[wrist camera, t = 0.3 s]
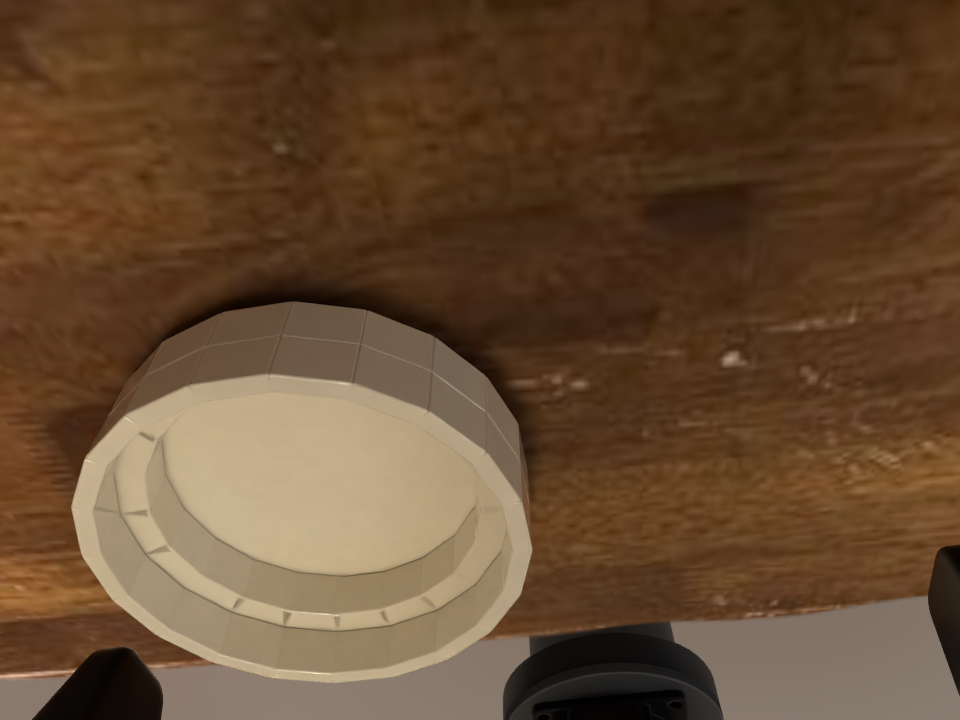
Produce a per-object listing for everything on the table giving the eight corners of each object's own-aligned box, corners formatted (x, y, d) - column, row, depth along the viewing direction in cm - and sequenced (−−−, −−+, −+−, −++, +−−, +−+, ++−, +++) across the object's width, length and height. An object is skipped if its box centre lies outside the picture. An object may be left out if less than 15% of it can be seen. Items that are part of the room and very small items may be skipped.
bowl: (548, 566, 31) (555, 661, 28) (209, 605, 33) (180, 700, 29) (487, 259, 24) (488, 342, 20) (47, 327, 25) (-18, 415, 22)
